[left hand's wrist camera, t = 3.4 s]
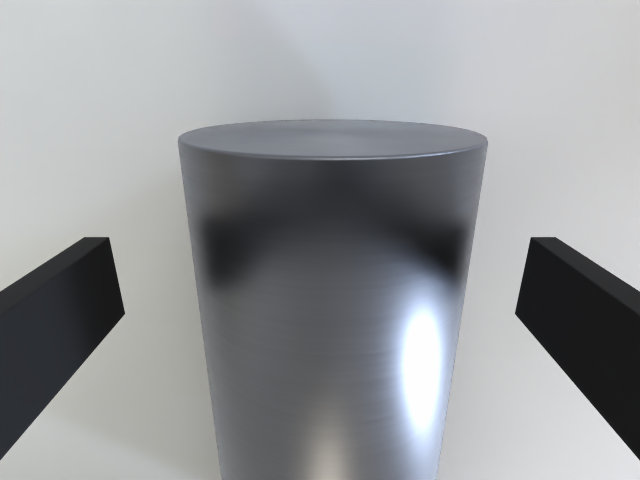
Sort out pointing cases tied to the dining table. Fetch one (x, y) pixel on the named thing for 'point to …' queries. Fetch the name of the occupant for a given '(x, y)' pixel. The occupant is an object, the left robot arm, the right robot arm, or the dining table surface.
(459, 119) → the dining table surface
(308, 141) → the rod
